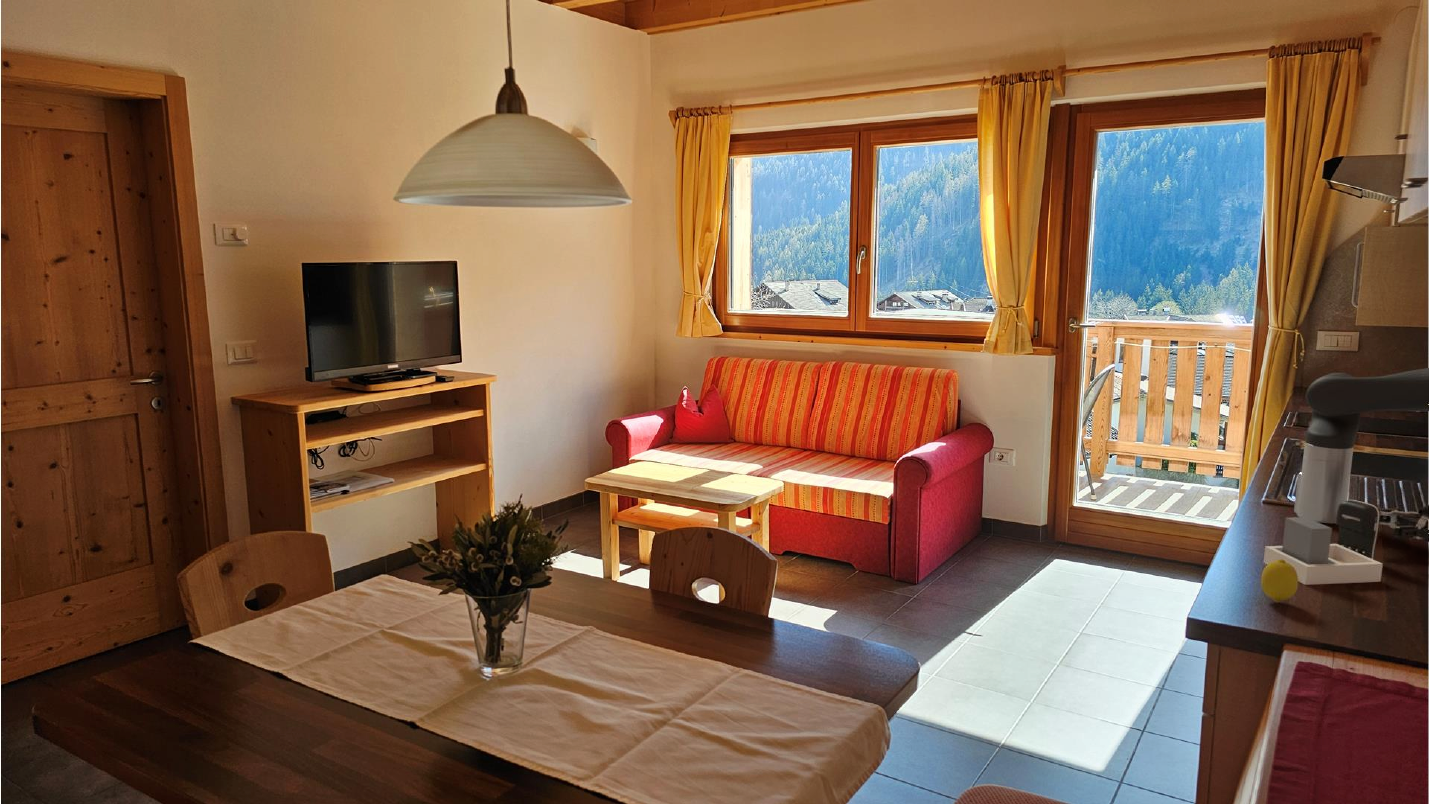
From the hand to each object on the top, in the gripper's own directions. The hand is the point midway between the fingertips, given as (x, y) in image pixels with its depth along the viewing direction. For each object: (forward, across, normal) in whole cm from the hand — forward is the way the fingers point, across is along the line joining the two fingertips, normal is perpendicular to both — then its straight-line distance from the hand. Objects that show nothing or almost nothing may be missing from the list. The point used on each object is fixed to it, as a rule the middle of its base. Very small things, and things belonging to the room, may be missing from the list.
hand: (1378, 525), depth 188 cm
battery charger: (+5, 0, +7) cm, 8 cm away
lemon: (+36, +20, +7) cm, 42 cm away
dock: (+17, +7, +7) cm, 20 cm away
